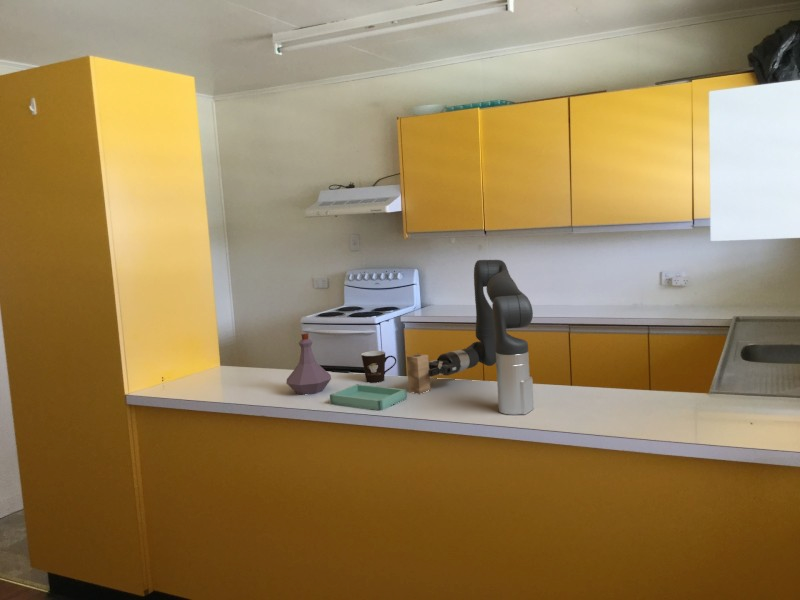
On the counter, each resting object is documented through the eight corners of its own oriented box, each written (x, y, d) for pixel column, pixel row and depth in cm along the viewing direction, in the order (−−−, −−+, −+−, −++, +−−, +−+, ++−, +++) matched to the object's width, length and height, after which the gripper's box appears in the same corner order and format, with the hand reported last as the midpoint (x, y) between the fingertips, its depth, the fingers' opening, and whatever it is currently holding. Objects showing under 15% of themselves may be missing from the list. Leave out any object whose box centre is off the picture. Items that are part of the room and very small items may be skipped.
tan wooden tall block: (430, 390, 223) (428, 355, 221) (419, 394, 219) (417, 358, 218) (419, 388, 226) (417, 353, 225) (409, 392, 223) (406, 356, 222)
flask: (340, 384, 239) (335, 329, 237) (323, 397, 224) (318, 338, 221) (297, 385, 243) (292, 330, 241) (278, 397, 228) (272, 339, 225)
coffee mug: (358, 383, 240) (356, 355, 239) (371, 377, 248) (368, 350, 246) (387, 384, 235) (385, 356, 233) (398, 378, 242) (397, 351, 241)
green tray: (407, 398, 215) (406, 389, 215) (380, 410, 204) (380, 401, 203) (357, 392, 226) (357, 384, 226) (330, 403, 215) (329, 394, 215)
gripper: (437, 349, 238) (404, 358, 227) (468, 353, 228) (434, 363, 217) (439, 370, 239) (406, 380, 228) (469, 375, 229) (436, 385, 218)
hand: (420, 371), depth 222 cm, fingers open, 8 cm apart
